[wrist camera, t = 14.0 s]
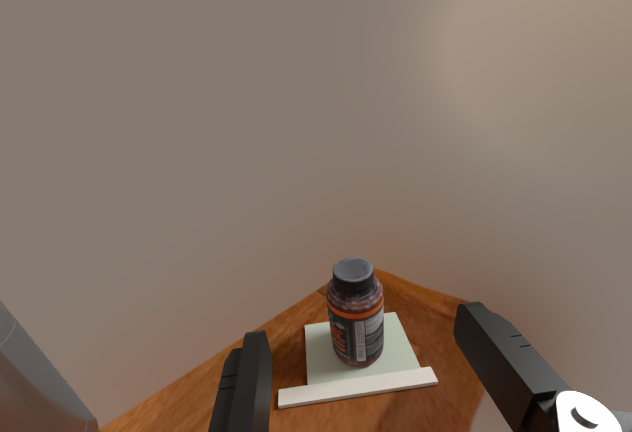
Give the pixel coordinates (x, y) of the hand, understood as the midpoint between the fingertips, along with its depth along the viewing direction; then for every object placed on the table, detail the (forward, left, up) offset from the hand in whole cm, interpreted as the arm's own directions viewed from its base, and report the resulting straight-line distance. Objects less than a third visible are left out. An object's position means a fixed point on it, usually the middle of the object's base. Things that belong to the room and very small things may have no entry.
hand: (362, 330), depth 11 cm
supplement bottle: (+2, +14, -19) cm, 23 cm away
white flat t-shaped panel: (+1, +13, -19) cm, 23 cm away
